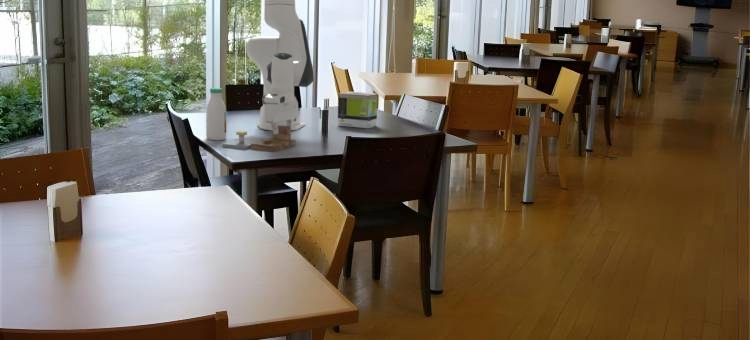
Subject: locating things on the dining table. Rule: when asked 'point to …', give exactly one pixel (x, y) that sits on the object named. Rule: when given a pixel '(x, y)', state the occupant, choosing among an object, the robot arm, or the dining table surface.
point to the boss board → (244, 145)
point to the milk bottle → (216, 116)
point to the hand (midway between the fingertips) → (282, 132)
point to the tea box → (357, 109)
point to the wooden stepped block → (276, 140)
